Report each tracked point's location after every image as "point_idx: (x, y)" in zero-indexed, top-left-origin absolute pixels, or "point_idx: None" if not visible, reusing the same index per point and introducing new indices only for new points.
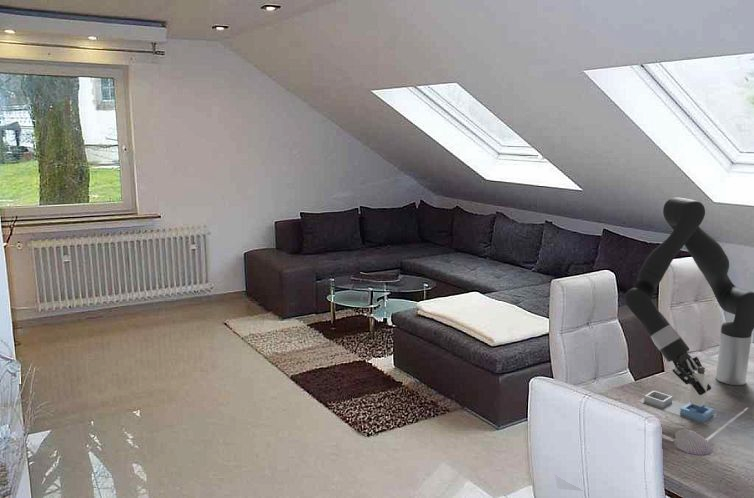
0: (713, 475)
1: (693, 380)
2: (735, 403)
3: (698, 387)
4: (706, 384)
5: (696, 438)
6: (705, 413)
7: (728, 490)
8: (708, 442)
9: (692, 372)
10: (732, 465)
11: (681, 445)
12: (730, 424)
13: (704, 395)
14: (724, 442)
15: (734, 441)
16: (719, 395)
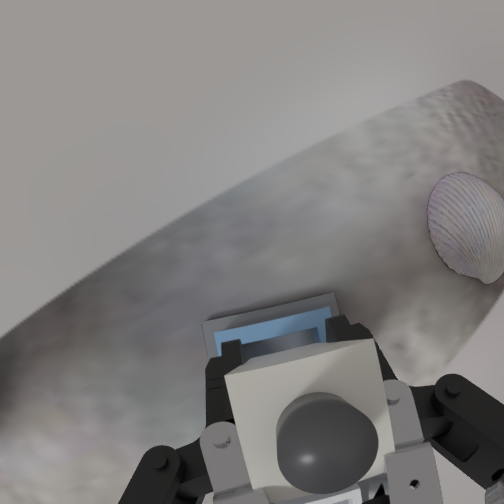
0: (498, 128)
1: (443, 379)
2: (38, 352)
3: (381, 352)
4: (269, 359)
5: (493, 196)
6: (299, 322)
7: (496, 96)
8: (445, 191)
9: (431, 448)
10: (441, 119)
11: None
12: (216, 259)
13: (282, 353)
14: (370, 186)
15: (332, 174)
16: (31, 417)
